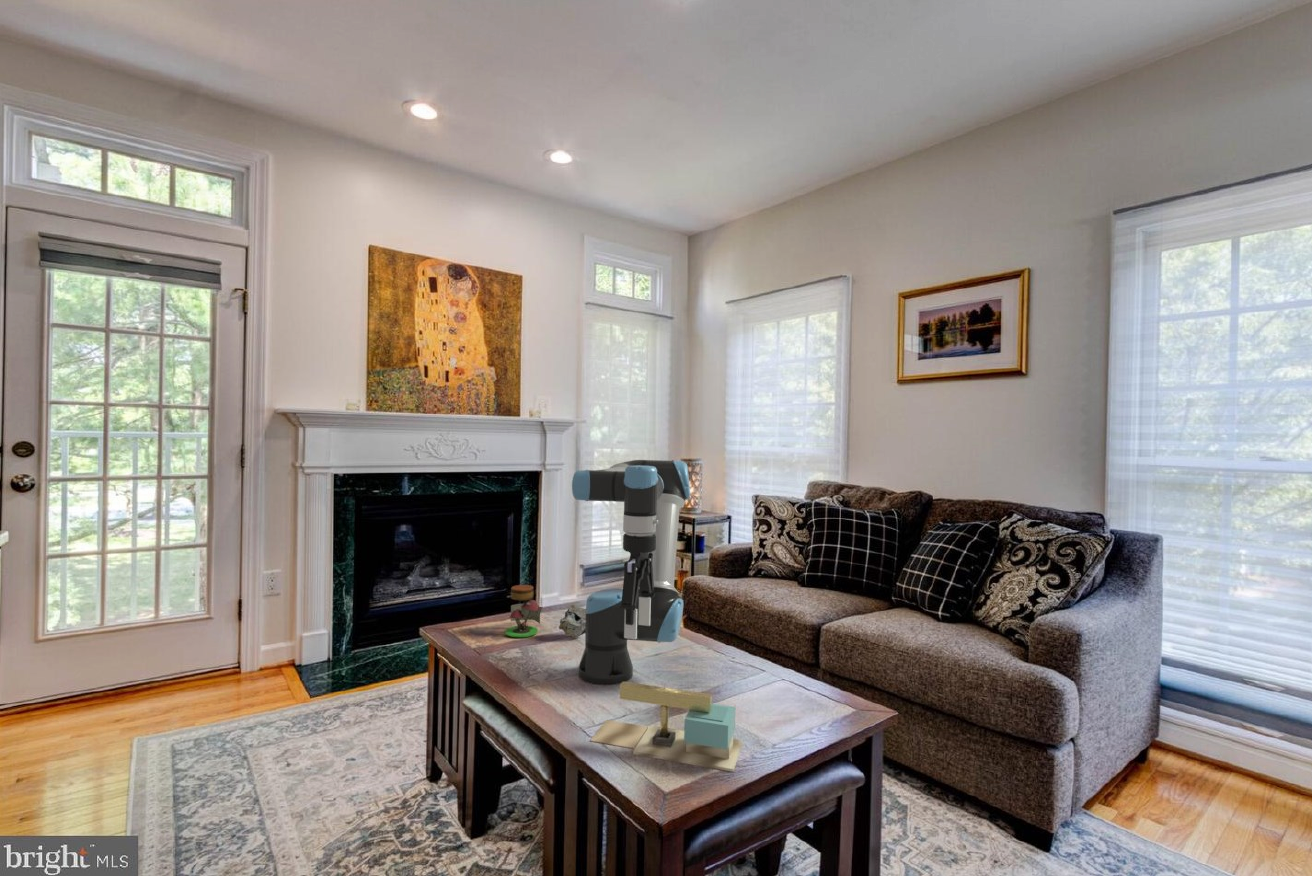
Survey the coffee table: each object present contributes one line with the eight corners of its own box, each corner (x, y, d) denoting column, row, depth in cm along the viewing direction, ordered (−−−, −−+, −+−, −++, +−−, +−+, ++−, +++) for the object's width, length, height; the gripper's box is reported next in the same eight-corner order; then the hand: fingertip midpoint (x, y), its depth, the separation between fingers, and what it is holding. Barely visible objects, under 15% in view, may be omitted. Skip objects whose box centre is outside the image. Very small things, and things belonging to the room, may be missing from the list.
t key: (618, 734, 133) (619, 684, 133) (621, 730, 135) (622, 681, 134) (708, 750, 127) (709, 698, 127) (710, 745, 129) (711, 694, 129)
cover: (684, 742, 125) (684, 717, 125) (694, 722, 133) (694, 699, 133) (727, 749, 122) (728, 724, 122) (734, 729, 131) (735, 706, 131)
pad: (590, 741, 131) (590, 740, 131) (606, 720, 141) (606, 719, 141) (633, 749, 128) (633, 748, 128) (647, 727, 138) (648, 726, 138)
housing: (633, 754, 126) (633, 737, 126) (650, 727, 138) (650, 712, 138) (733, 772, 120) (733, 754, 120) (742, 743, 132) (742, 727, 132)
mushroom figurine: (538, 638, 196) (539, 592, 196) (499, 637, 196) (500, 591, 196) (545, 627, 208) (546, 583, 208) (508, 626, 208) (509, 582, 208)
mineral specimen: (570, 644, 191) (571, 612, 191) (555, 638, 197) (556, 607, 197) (594, 637, 198) (595, 607, 198) (579, 631, 204) (579, 601, 204)
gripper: (640, 542, 127) (638, 649, 127) (668, 527, 148) (666, 619, 148) (606, 539, 129) (604, 645, 129) (639, 525, 150) (637, 616, 150)
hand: (637, 631), depth 139 cm, fingers open, 9 cm apart
